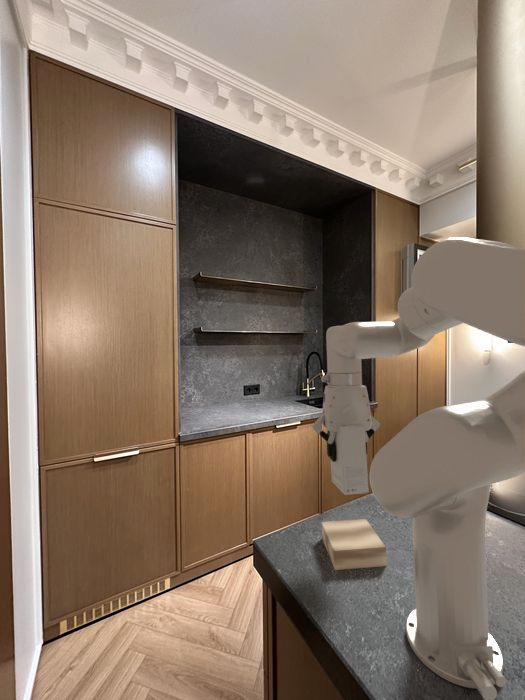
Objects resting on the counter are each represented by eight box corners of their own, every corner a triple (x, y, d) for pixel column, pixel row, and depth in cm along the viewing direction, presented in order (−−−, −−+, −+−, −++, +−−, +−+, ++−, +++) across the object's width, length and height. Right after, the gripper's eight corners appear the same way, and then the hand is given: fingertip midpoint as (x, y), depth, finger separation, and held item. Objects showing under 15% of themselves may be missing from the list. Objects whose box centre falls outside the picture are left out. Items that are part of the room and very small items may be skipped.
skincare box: (369, 494, 68) (367, 425, 67) (342, 496, 67) (341, 427, 67) (352, 478, 76) (351, 417, 76) (329, 480, 75) (327, 418, 75)
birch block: (386, 566, 66) (385, 547, 66) (334, 570, 65) (334, 550, 65) (366, 535, 77) (365, 518, 77) (322, 538, 76) (321, 521, 76)
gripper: (310, 383, 67) (313, 467, 67) (389, 380, 68) (391, 462, 68) (304, 379, 74) (306, 455, 75) (375, 376, 75) (377, 451, 75)
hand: (347, 458), depth 71 cm, fingers closed on skincare box, 6 cm apart
